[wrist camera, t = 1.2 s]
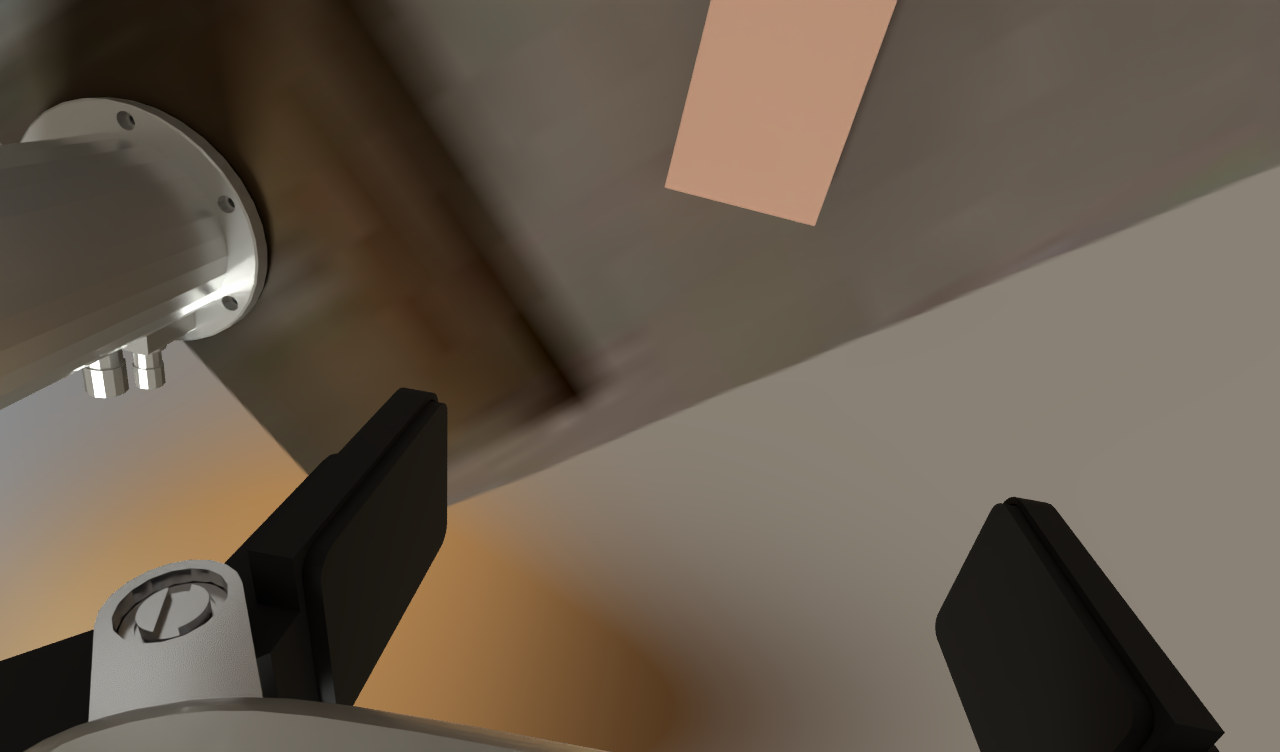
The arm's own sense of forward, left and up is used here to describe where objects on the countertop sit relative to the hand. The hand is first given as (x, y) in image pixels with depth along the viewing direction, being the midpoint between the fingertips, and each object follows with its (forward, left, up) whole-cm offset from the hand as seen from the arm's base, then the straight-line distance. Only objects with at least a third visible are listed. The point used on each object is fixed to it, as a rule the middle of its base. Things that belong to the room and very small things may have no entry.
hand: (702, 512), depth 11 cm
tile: (+9, -1, -24) cm, 25 cm away
